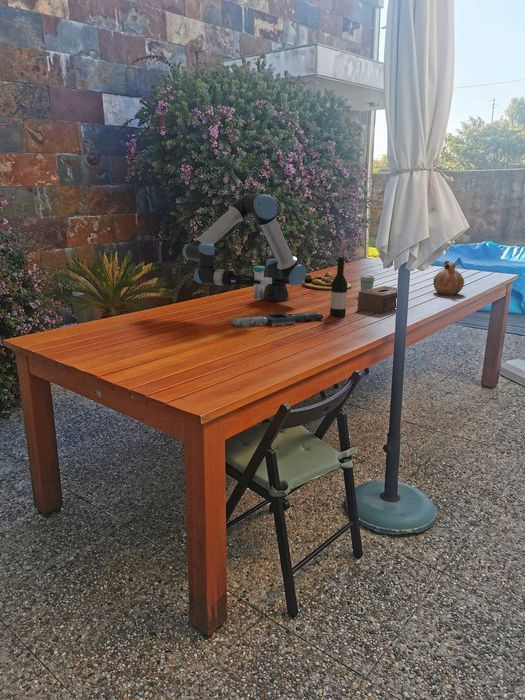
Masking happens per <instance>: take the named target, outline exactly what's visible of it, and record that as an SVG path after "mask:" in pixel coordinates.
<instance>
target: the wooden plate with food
mask: <svg viewBox="0 0 525 700" xmlns="http://www.w3.org/2000/svg"><path fill="white" fill-rule="evenodd" d="M335 277H336V275H334V276H333V274H332V273H331V272H330V271H327V272H326V273H325V274H324V276H318V275H316V276H315V275H314V276H311V274H307V273H306V276H305V280H304V281H303V282H302V283H301V284H302V286H303V287H304V288H307V289H310V288H311V290H316V289H318V290H317V291H324V290H331V289H332V281H333V280H334V278H335ZM352 286H353V285H352V284H351V283H349V282H347V289H348V290H350V289H352Z"/></svg>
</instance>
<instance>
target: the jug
mask: <svg viewBox="0 0 525 700" xmlns="http://www.w3.org/2000/svg"><path fill="white" fill-rule="evenodd" d="M443 265H444V269H442V270H440V271H439V272H437V273H436V275H435V276H434V278H433V283H432V284H433V287H434V290H435V291H436V293H437V294H438V295H439V296H440V295H441V296H448V297H449V296H450V297H452V296H451V295H454V296H456V294H457V295H458V294H459V292H461V291H462V290H463V288H464V285H465V280H464V278H463V275H462V274H461V273H460V272H459V271H458V270H456V263H452V262H450V260H445V261H444V264H443Z"/></svg>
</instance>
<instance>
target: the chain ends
mask: <svg viewBox="0 0 525 700" xmlns="http://www.w3.org/2000/svg"><path fill="white" fill-rule="evenodd" d="M321 319H322V320H323V319H324V315H323V314H322V313H319V312H317V311H309V312H297V313H286V312H276V313H275V312H274V313H263V314H261V316H259V315H258V316H247V317H235V318H232V319H231V320H230V323H231V325H233V326H235V327H237V328H238V327H239V328H242V327H241V326H247V327H255V326H254V325H258V326H261V325H260V324H268V325H269V324H271V325H281V326H283V325H282V324H292V325H295V324H296V323H298V322H297V321H303V322H310V321H309V320H314V321H321ZM294 323H295V324H294ZM271 325H270V326H271Z"/></svg>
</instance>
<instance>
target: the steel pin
mask: <svg viewBox="0 0 525 700" xmlns="http://www.w3.org/2000/svg"><path fill="white" fill-rule="evenodd" d="M252 269H253V271H254V273H253V276H254V279H264V277H265V271H266V266H263V265H253V268H252ZM264 289H265V286H264V285H254V286H253V299H254V300H259V301H260V300H264V299H263V292H264Z"/></svg>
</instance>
